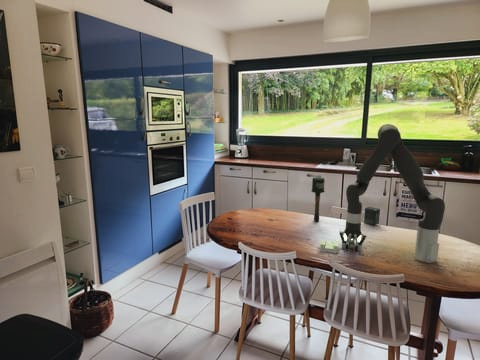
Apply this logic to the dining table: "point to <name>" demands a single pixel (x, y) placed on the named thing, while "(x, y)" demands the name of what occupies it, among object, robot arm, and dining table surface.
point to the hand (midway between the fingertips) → (351, 250)
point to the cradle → (329, 246)
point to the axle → (352, 244)
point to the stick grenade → (317, 194)
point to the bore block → (355, 243)
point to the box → (371, 215)
